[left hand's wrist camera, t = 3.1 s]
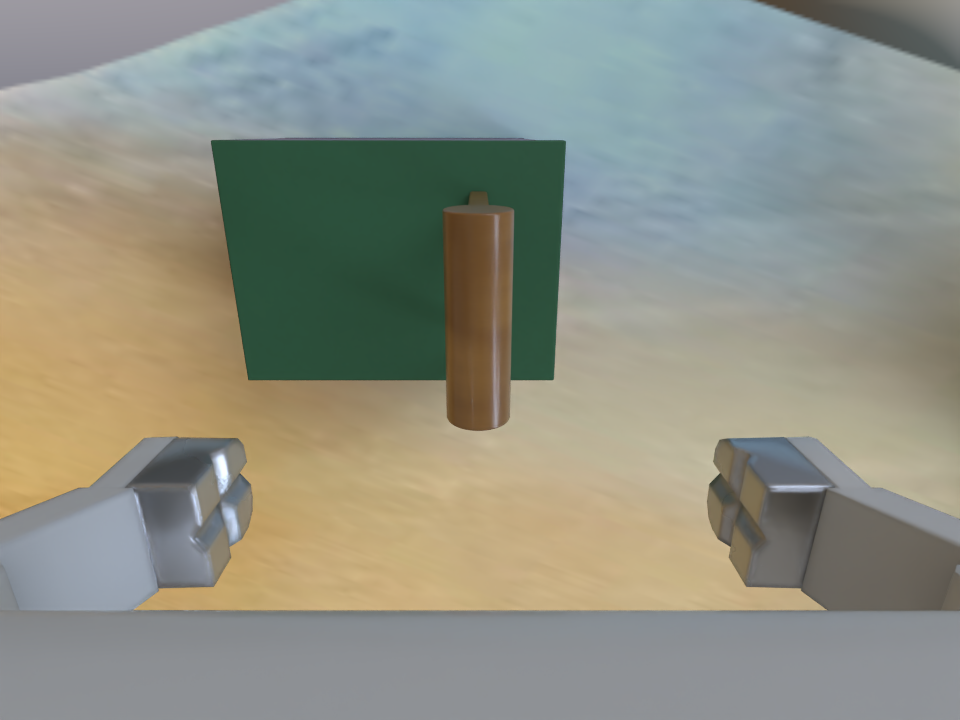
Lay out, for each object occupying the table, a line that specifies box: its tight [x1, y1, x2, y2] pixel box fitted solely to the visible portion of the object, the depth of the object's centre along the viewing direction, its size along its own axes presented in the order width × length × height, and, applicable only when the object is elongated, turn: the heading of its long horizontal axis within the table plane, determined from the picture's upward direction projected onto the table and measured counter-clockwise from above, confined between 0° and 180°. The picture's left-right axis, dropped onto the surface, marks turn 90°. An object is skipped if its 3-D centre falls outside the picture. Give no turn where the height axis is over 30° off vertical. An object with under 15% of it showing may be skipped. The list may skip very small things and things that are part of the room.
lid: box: [211, 140, 566, 431], centre depth 21 cm, size 14×10×9 cm
